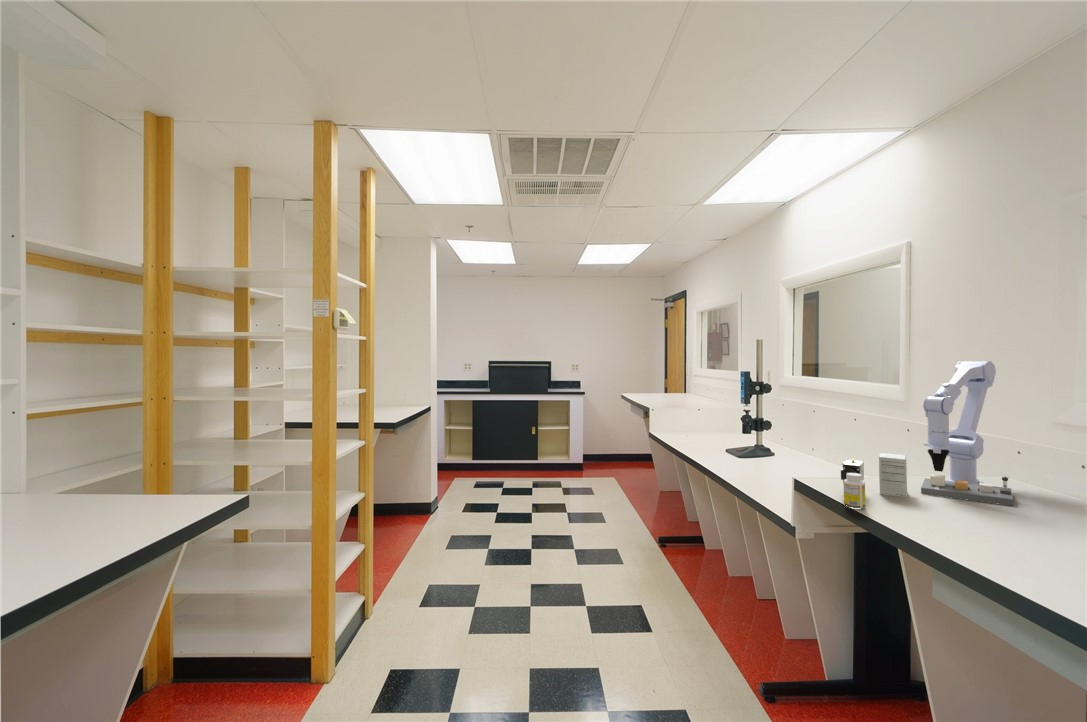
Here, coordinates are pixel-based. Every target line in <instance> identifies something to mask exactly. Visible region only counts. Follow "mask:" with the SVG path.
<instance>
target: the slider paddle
mask: <svg viewBox="0 0 1087 722" xmlns="http://www.w3.org/2000/svg"><path fill="white" fill-rule="evenodd" d="M929 479H931V485H936V486H945V481H946V475H942V474H933V473H931V474H930V478H929Z"/></svg>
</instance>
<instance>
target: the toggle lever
mask: <svg viewBox="0 0 1087 722" xmlns="http://www.w3.org/2000/svg"><path fill="white" fill-rule="evenodd" d="M1001 480H1002V482H1003V483H1002V484H1003V485H1002V487H1003V488H1008V481H1009V477H1007V476H1002V477H1001Z"/></svg>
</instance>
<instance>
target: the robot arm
mask: <svg viewBox="0 0 1087 722" xmlns="http://www.w3.org/2000/svg"><path fill="white" fill-rule="evenodd" d="M996 374H997V370H996V366H995V364H994V362H993V361H992V360H986V361H982V360H981V361H980V360H978V361H976V360H974V361H969V360H967V361H964V360H959V361H958V362H957V363H956V364H955V367H954V374H953V376H952V378H951V379H950V381H949V382H945V383H943V384H942V385H941V386H940V387H939V388H938V390H937V391H936V392H935V393H934V394H933V395H932V396H931V395H930V396H928V397H926V398H925V399H924V401H923V404H922V405H923V406H922V407H923V409H924V412H925V414H924V415H925V417H926V418H927V442H923V446H925V447H929V448H930V449H927V453H928V455H929V457H930V459H931V461H932V466H933V469H934V471H935V472H943V471H944V467H945V463H946V459H947V457H949V475H948V476H949V477H948V480H947V481H952V482H955V480H959V481H968V483H969V484H978V485H979V478H978V477H977V474H978V473H977V471H978V469H977V468H978V467H977V459H980V458H981V457H982V455H983V453H984V441H985V440H984V439H983V437H982V436H981V435H980V434H978V433H977V430H978V426H979V421H980V418H981V413H982V410H983V407H984V404H985V400H986V396H987V391H988V389H989V388H991V387H993V384H994V381H995V377H996ZM962 387H966V388H967V392H966V396H965V400H964V403H963V406H962V411H961V414H960V418H959V421H958V424H957V428H955V429H953V430H951V431H950V414H951V413H952V412H953V409H954V405H955V401H956V400H957V399H958V398H959V396H960V395H961V394H962V389H961V388H962Z"/></svg>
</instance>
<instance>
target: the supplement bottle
mask: <svg viewBox="0 0 1087 722" xmlns="http://www.w3.org/2000/svg"><path fill="white" fill-rule="evenodd" d="M846 477H847V478H846V479H845V480H844V483H843V502H844V503H843V505H844V504H845V505H847V506H848V507H853V508H866V482H865V481H864V480H863V481H862V475H861V474H858V473H847V474H846ZM845 505H844V506H845Z"/></svg>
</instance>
